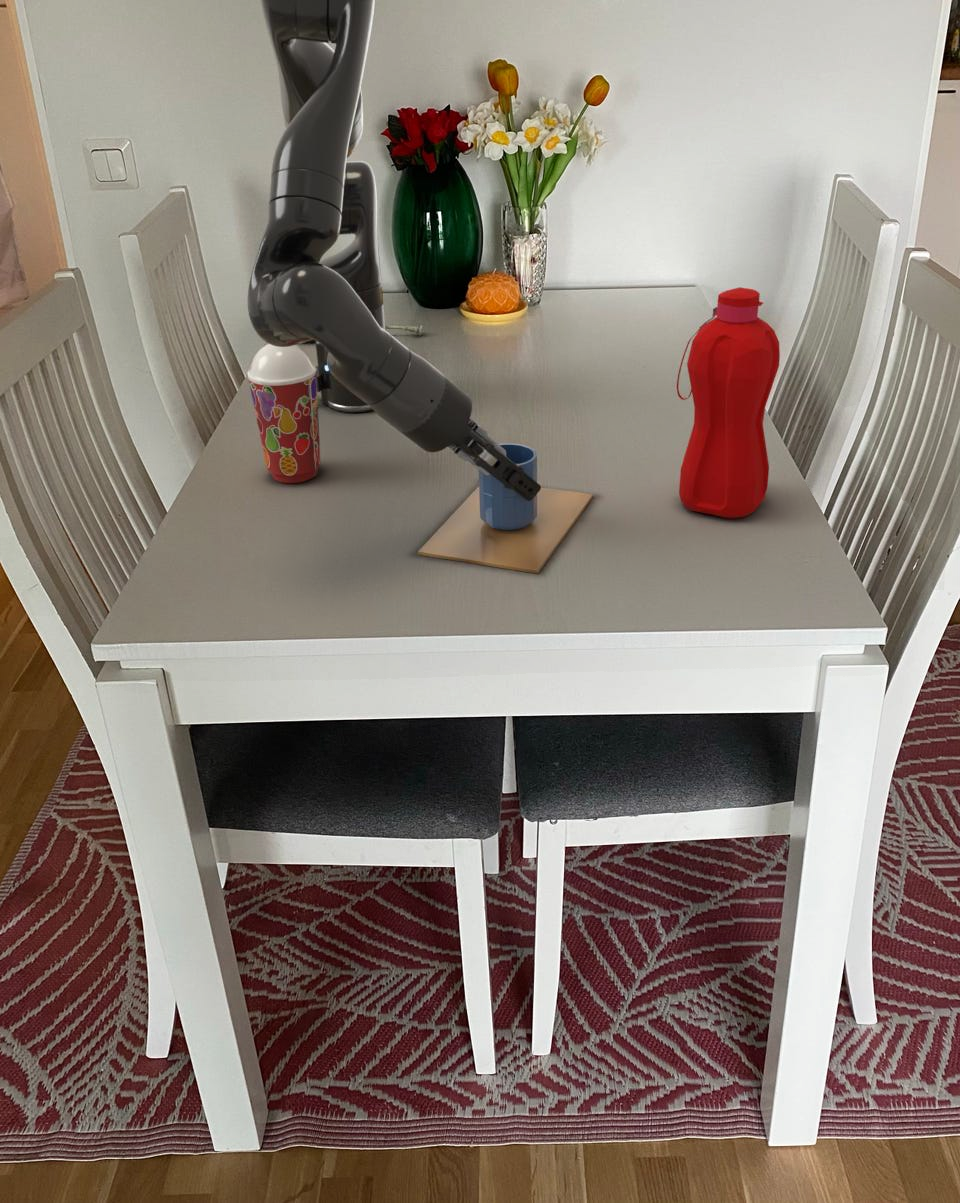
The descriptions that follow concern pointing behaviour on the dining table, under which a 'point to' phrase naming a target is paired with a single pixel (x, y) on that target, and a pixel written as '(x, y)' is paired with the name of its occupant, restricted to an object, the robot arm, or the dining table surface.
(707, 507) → the water bottle
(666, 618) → the dining table surface
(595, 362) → the dining table surface
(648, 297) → the dining table surface
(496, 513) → the blue plastic tumbler
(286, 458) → the smoothie
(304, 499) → the dining table surface
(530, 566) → the mat
